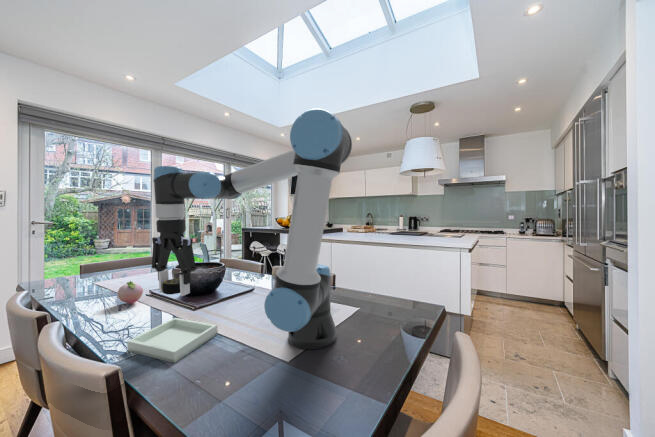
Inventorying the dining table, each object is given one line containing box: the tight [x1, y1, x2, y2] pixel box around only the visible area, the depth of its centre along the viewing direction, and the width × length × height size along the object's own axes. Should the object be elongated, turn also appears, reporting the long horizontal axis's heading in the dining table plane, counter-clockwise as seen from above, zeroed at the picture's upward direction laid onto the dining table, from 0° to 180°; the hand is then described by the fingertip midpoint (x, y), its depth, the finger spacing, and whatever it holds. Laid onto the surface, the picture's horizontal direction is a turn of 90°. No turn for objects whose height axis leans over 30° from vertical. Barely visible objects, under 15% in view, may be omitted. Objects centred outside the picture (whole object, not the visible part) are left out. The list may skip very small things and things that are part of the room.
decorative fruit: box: [117, 280, 144, 305], centre depth 111 cm, size 9×8×10 cm
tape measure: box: [162, 278, 180, 295], centre depth 81 cm, size 7×7×4 cm
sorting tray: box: [126, 317, 219, 364], centre depth 81 cm, size 18×16×3 cm
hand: (174, 292), depth 81 cm, fingers closed on tape measure, 8 cm apart
